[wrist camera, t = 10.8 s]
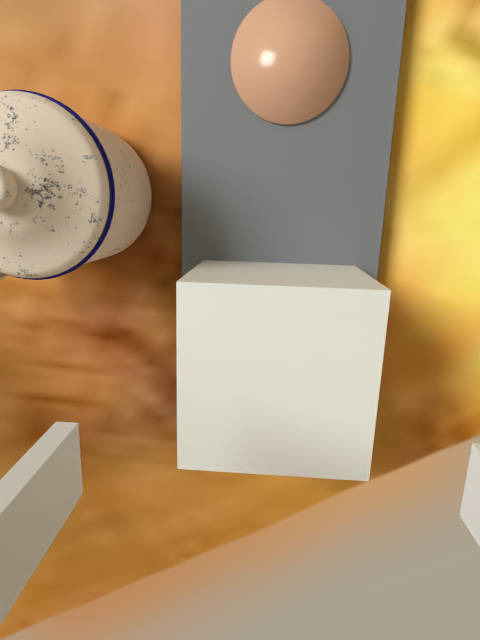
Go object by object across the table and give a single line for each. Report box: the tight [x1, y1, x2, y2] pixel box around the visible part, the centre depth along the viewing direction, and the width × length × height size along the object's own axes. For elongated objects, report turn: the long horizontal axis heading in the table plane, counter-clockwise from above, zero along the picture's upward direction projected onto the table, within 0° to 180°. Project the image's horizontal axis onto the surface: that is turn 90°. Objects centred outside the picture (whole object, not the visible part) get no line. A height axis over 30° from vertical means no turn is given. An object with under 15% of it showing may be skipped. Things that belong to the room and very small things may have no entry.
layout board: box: [181, 0, 407, 280], centre depth 29 cm, size 13×30×1 cm, turn 178°
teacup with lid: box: [0, 90, 152, 280], centre depth 25 cm, size 12×9×12 cm
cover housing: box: [176, 260, 391, 481], centre depth 26 cm, size 10×10×9 cm
